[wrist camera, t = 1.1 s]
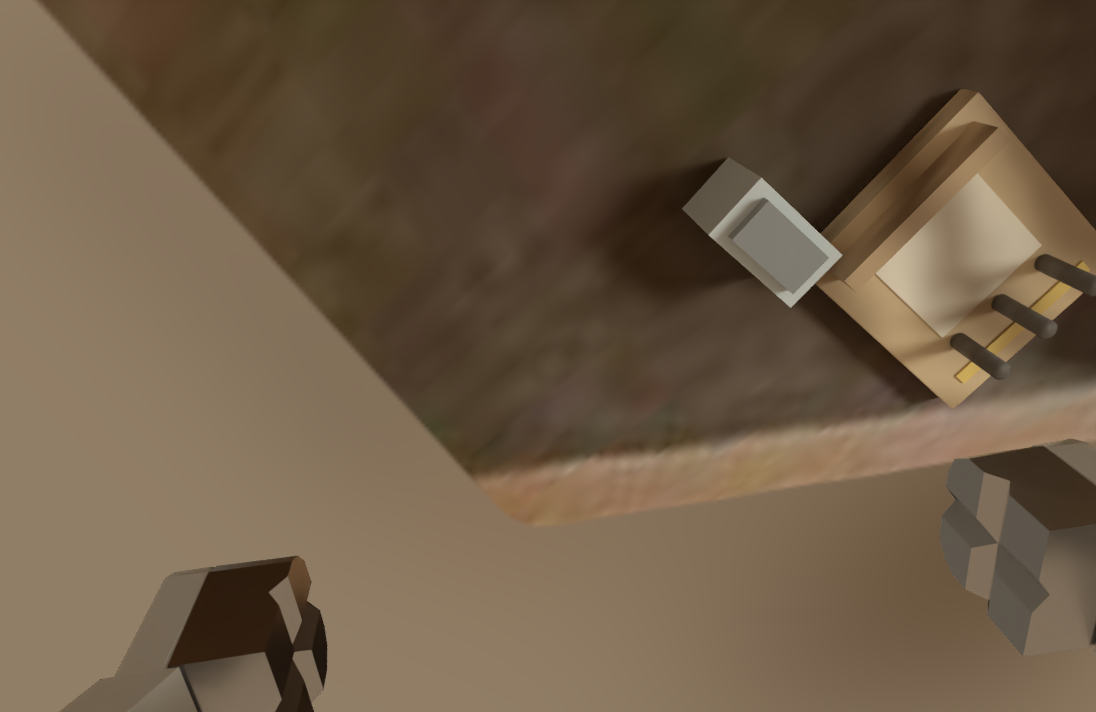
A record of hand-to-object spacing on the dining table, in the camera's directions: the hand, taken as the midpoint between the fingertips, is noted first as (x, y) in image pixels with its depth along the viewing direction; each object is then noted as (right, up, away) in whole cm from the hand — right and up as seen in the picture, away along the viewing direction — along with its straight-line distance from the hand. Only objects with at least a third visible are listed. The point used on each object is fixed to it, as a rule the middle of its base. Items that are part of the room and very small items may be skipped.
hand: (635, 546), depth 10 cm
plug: (+9, +10, +32) cm, 35 cm away
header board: (+22, +8, +34) cm, 41 cm away
